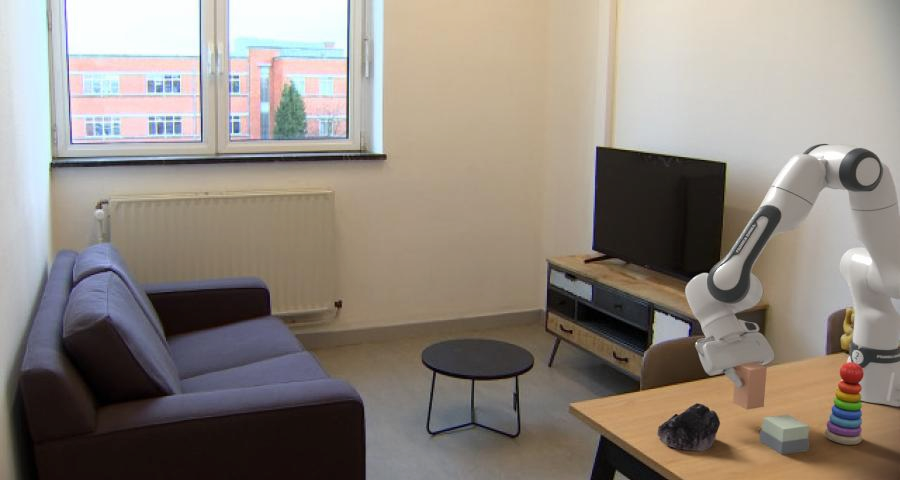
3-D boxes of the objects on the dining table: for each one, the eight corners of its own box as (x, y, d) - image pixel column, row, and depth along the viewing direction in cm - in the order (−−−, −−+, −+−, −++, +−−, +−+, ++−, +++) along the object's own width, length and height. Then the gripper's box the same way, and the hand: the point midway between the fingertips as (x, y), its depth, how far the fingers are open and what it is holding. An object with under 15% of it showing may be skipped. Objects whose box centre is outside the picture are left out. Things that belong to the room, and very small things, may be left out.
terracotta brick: (749, 399, 215) (752, 360, 213) (763, 406, 211) (766, 367, 209) (733, 402, 213) (735, 363, 211) (747, 409, 209) (749, 370, 207)
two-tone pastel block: (785, 437, 206) (788, 413, 205) (808, 450, 199) (810, 426, 198) (759, 441, 203) (761, 417, 202) (780, 454, 196) (783, 429, 195)
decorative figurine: (874, 352, 271) (879, 305, 268) (873, 360, 263) (878, 311, 261) (840, 347, 275) (845, 301, 272) (838, 354, 268) (843, 307, 265)
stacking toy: (859, 449, 200) (868, 371, 196) (821, 440, 204) (830, 364, 200) (863, 437, 206) (872, 361, 203) (827, 429, 210) (835, 355, 207)
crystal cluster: (645, 438, 206) (647, 400, 203) (688, 423, 212) (690, 386, 209) (686, 464, 194) (688, 424, 192) (730, 447, 201) (733, 408, 198)
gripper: (699, 333, 210) (726, 385, 203) (761, 322, 219) (789, 371, 212) (685, 346, 215) (711, 397, 208) (747, 335, 224) (774, 383, 217)
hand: (751, 384), depth 210 cm, fingers closed on terracotta brick, 5 cm apart
